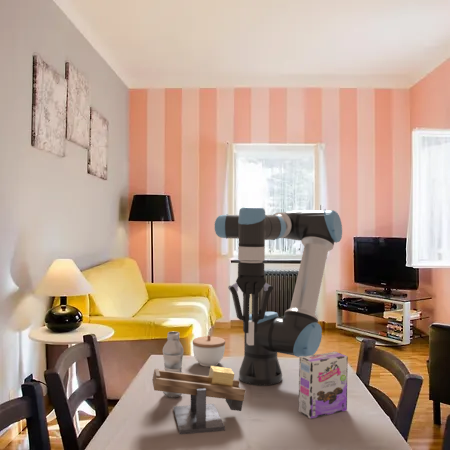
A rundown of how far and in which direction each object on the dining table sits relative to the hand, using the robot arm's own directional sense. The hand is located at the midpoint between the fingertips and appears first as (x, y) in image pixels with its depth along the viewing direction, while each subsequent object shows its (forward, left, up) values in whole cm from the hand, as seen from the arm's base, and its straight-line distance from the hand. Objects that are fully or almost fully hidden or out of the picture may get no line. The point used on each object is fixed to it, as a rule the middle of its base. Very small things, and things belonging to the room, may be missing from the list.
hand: (250, 344), depth 136 cm
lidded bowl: (+3, -50, -21) cm, 54 cm away
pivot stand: (+15, 0, -21) cm, 25 cm away
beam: (+16, 0, -15) cm, 22 cm away
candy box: (-22, +1, -21) cm, 31 cm away
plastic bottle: (+20, -19, -21) cm, 35 cm away
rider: (+9, 0, -12) cm, 15 cm away
